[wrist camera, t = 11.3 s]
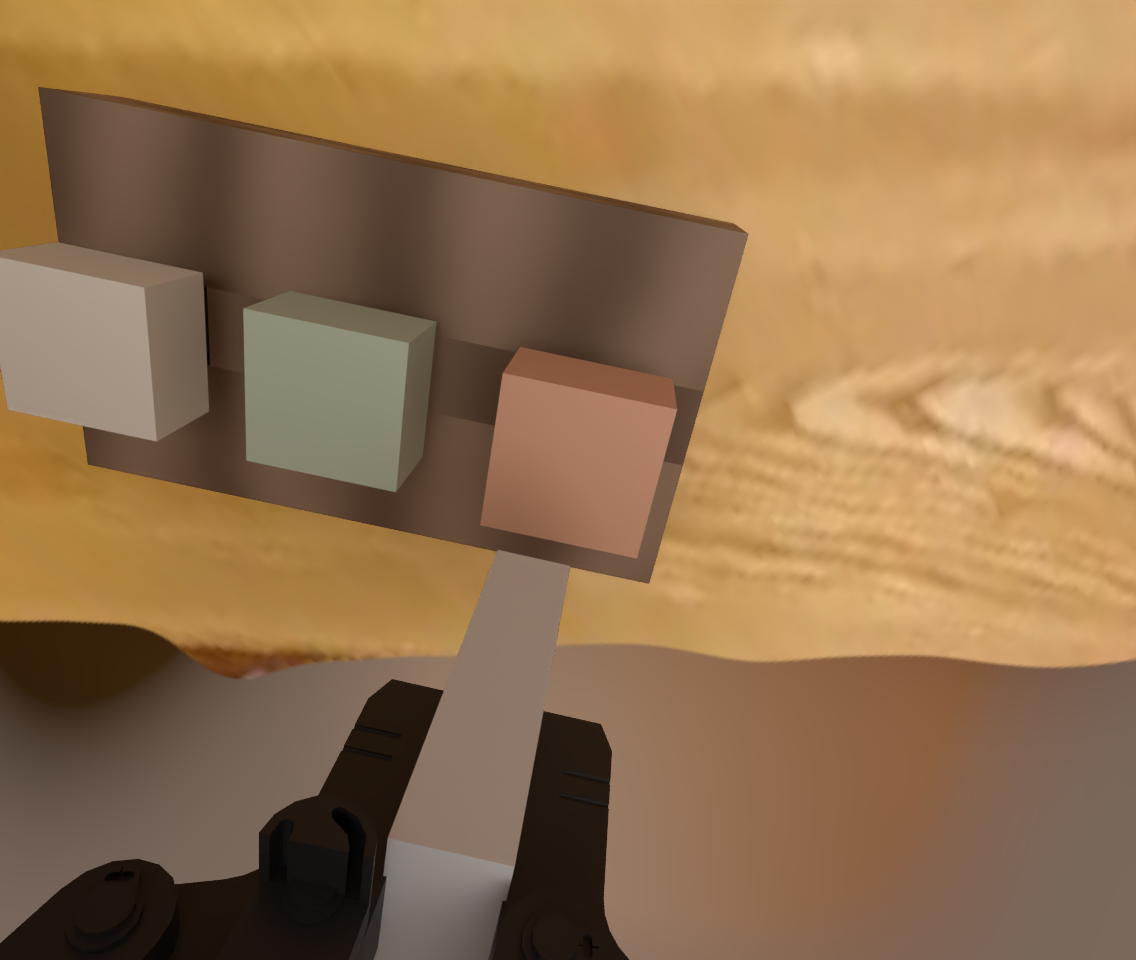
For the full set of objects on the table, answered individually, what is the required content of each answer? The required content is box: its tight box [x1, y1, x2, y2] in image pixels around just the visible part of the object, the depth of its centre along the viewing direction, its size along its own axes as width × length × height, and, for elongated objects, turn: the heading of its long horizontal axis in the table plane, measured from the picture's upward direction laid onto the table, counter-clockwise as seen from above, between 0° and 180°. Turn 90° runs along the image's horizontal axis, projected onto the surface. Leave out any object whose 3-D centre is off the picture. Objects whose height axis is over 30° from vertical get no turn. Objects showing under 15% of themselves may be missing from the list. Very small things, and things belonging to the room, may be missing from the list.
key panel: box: [38, 87, 748, 584], centre depth 28 cm, size 24×14×4 cm, turn 79°
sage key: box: [243, 291, 436, 492], centre depth 24 cm, size 5×5×6 cm
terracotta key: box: [480, 347, 677, 558], centre depth 23 cm, size 5×5×6 cm
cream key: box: [0, 242, 210, 441], centre depth 24 cm, size 5×5×6 cm
